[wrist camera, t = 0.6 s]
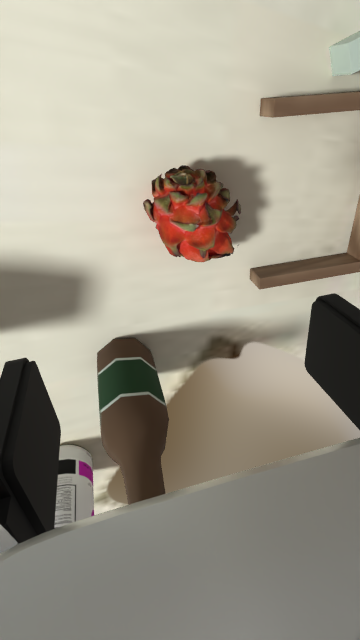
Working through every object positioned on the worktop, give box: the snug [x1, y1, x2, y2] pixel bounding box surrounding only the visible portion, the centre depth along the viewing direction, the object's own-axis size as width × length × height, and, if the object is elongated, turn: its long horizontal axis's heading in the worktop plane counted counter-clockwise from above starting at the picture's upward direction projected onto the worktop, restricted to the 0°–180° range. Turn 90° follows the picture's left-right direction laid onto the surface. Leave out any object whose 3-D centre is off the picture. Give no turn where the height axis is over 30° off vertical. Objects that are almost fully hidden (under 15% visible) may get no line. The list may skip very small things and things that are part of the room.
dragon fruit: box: [143, 165, 241, 262], centre depth 36 cm, size 8×8×12 cm
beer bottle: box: [97, 338, 169, 505], centre depth 37 cm, size 8×8×24 cm
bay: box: [250, 91, 360, 289], centre depth 40 cm, size 20×16×3 cm
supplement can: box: [54, 445, 94, 529], centre depth 49 cm, size 8×8×15 cm
